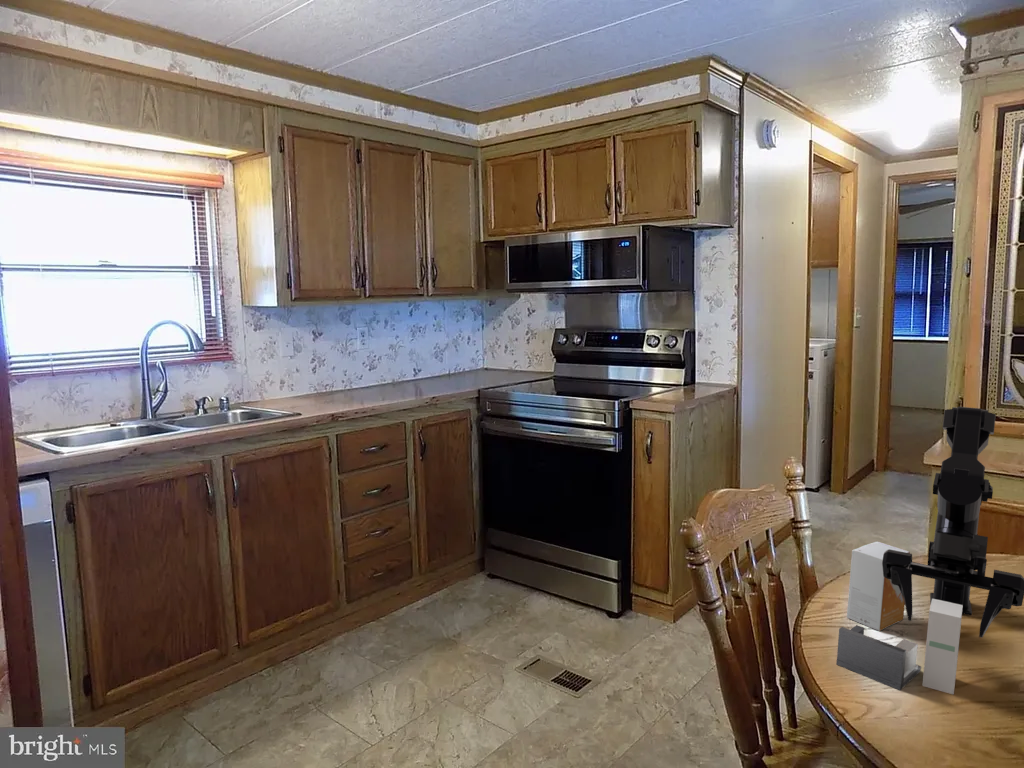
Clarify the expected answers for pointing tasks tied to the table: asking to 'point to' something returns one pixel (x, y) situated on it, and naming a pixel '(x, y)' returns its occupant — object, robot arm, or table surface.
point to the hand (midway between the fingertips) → (944, 627)
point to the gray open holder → (877, 657)
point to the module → (942, 645)
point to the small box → (873, 589)
